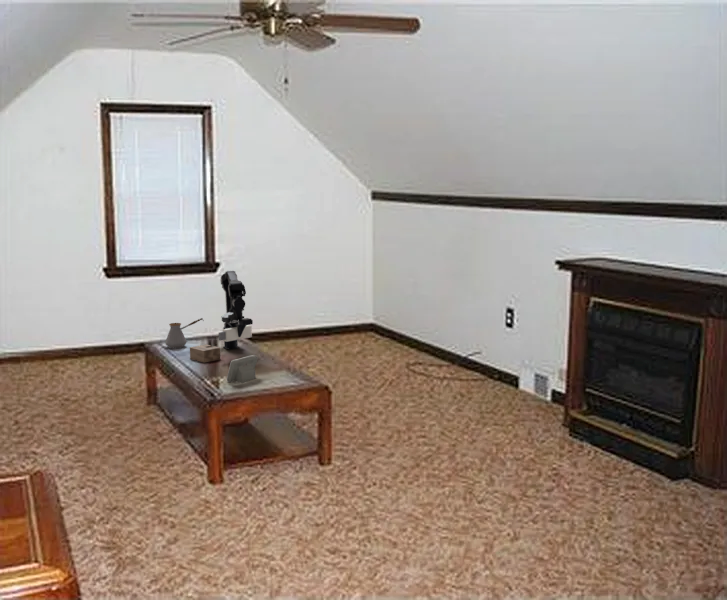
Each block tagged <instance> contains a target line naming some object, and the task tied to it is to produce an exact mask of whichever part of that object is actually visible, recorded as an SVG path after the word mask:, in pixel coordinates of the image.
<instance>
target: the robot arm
mask: <svg viewBox="0 0 727 600" xmlns="http://www.w3.org/2000/svg"><path fill="white" fill-rule="evenodd" d="M220 285H221V288H222V289H223V291H224V295H225V309H226V310H225V314H223V315H222V316H221V317H220V318H221V321H222V322H223V328H222V330H223V329H228V328H233V327H237V329H238V337H241V335H242V332H243V330H244V328H245V327H246V325H251V326H252V325H253V323H254V322H253V319H252V318H249V317H246V318H245V316H244V315H243V311H245V308H246V301H245V299H243V297H246V294H247V293H246V292H247V291H246V288H245V285H244V284H243V282H242V281H241V280H238V275H237V273H236V271H235V270H227V271H225V272H224V273H223V274H221V275H220ZM223 343H224V345H223V347H222V348H223V349H227V350H235V349H240V346H239V345H238V340H233V341H228V342H226V341H223Z"/></svg>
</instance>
